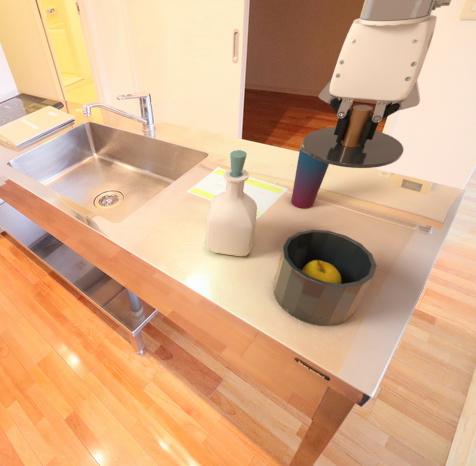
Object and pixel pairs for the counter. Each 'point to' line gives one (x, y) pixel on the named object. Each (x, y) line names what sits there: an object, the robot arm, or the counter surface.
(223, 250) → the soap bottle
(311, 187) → the cup
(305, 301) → the pot
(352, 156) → the lid
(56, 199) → the counter surface
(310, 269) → the apple
